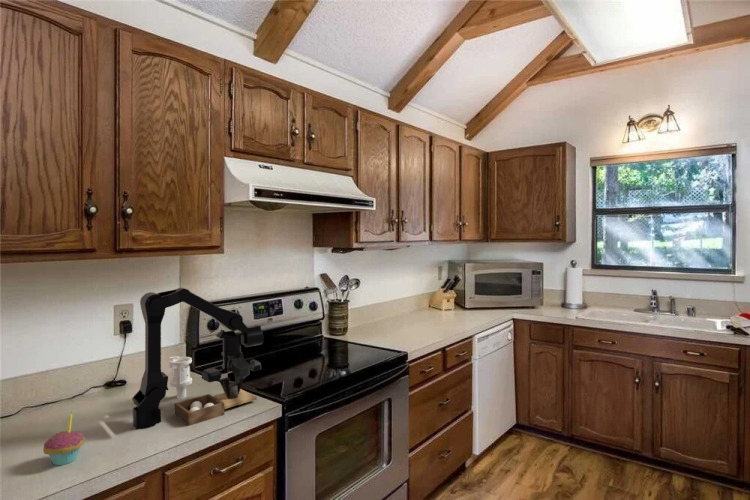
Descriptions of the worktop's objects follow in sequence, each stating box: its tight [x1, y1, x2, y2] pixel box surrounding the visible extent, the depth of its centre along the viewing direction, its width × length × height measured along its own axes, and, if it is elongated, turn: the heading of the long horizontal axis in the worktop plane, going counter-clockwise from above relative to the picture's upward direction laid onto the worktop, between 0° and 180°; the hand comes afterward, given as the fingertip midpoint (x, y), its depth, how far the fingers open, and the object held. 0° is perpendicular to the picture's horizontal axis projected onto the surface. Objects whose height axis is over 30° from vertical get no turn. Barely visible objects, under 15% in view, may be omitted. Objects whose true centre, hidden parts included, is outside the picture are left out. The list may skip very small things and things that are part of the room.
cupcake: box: [42, 410, 85, 466], centre depth 110 cm, size 9×8×12 cm
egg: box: [190, 401, 203, 409], centre depth 137 cm, size 4×4×4 cm
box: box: [174, 393, 225, 427], centre depth 136 cm, size 11×11×4 cm
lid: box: [212, 383, 258, 410], centre depth 146 cm, size 11×11×5 cm
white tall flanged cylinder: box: [169, 355, 193, 400], centre depth 151 cm, size 7×7×15 cm
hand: (232, 395), depth 146 cm, fingers closed on lid, 3 cm apart
